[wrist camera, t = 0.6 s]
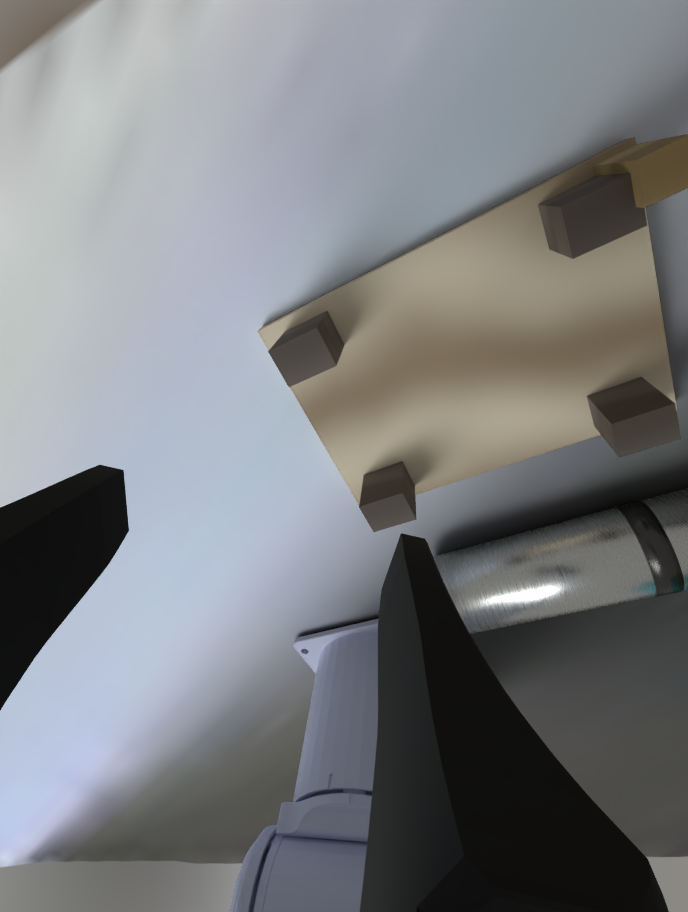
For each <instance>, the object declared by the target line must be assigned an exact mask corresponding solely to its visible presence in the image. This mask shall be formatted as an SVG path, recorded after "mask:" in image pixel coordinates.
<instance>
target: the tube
mask: <svg viewBox="0 0 688 912" xmlns="http://www.w3.org/2000/svg"><path fill="white" fill-rule="evenodd" d="M433 558H434V561H435V563H436V566H437V568H438V570H439V572H440V575H441V577H442V579H443V582H444V584H445V586H446V588H447V590H448V592H449V594H450V596H451V598H452V600H453V602H454V604H455V606H456V608H457V610H458V613H459V615H460V616H461V618H462V620H463V622H464V624H465V626H466V628H467V630H468V631H469V633H470V634H472V633H477V632H482V631H487V630H492V629H497V628H502V627H506V626H511V625H516V624H521V623H526V622H531V621H536V620H541V619H546V618H551V617H555V616H560V615H565V614H570V613H575V612H580V611H585V610H590V609H595V608H600V607H605V606H609V605H614V604H619V603H624V602H629V601H634V600H639V599H644V598H649V597H657V596H662V595H667V594H672V593H677V592H682V591H683V590H688V488H686V489H682V490H679V491H675V492H671V493H668V494H664V495H660V496H656V497H653V498H649V499H645V500H642V501H641V500H639V501H635V502H632V503H628V504H624V505H620V506H617V507H614V508H612V509H608V510H605V511H601V512H597V513H593V514H590V515H586V516H582V517H579V518H575V519H571V520H567V521H564V522H560V523H556V524H553V525H549V526H545V527H541V528H538V529H534V530H530V531H527V532H523V533H519V534H515V535H512V536H508V537H504V538H501V539H497V540H493V541H490V542H486V543H482V544H478V545H475V546H471V547H467V548H464V549H460V550H456V551H452V552H449V553H445V554H441V555H438V556H434V557H433Z"/></svg>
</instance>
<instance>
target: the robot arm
mask: <svg viewBox="0 0 688 912" xmlns="http://www.w3.org/2000/svg"><path fill="white" fill-rule="evenodd" d="M128 531H129V527H128V516H127V505H126V494H125V483H124V472H123V470H120V469H116V468H112V467H107V466H103V465H98V466H96V467H93V468H90V469H88V470H86V471H83V472H81V473H79V474H76V475H74V476H72V477H69V478H67V479H65V480H63V481H61V482H58V483H56V484H54V485H52V486H49V487H47V488H45V489H43V490H40V491H38V492H36V493H33V494H31V495H29V496H27V497H24V498H22V499H20V500H17V501H15V502H13V503H10V504H8V505H6V506H3V507H1V508H0V710H1V708H2V707H3V705H4V703H5V702H6V700H7V699H8V697H9V696H10V694H11V693H12V691H13V690H14V688H15V687H16V685H17V684H18V682H19V681H20V679H21V678H22V676H23V674H24V673H25V671H26V670H27V668H28V667H29V665H30V664H31V662H32V661H33V659H34V658H35V657H36V655H37V654H38V653H39V651H40V650H41V649H42V647H43V646H44V645H45V643H46V642H47V640H48V639H49V638H50V637H51V635H52V634H53V633H54V632H55V631H56V629H57V628H58V627H59V626H60V624H61V623H62V622H63V621H64V619H65V618H66V617H67V616H68V614H69V613H70V612H71V611H72V610H73V608H74V607H75V606H76V605H77V603H78V602H79V601H80V600H81V598H82V597H83V596H84V595H85V593H86V592H87V591H88V590H89V588H90V587H91V586H92V585H93V583H94V582H95V581H96V580H97V578H98V577H99V576H100V575H101V573H102V572H103V571H104V569H105V568H106V567H107V566H108V564H109V563H110V561H111V559H112V558H113V556H114V555H115V553H116V552H117V550H118V548H119V547H120V545H121V543H122V541H123V540H124V538H125V536H126V535H127V533H128ZM294 648H295V649H296V650H297V651H298V653H299V654H300V655H301V656H302V657H303V659H304V660H305V661H306V662H307V664H308V665H309V666H310V667H311V668H312V670H313V671H314V672H315V673H316V677H315V682H314V688H313V694H312V699H311V705H310V710H309V716H308V721H307V727H306V732H305V738H304V743H303V749H302V755H301V760H300V766H299V771H298V777H297V782H296V788H295V793H294V799H293V802H283V803H282V804H281V809H280V814H279V819H278V824H277V826H276V825H271V826H267V827H266V828H265V829H264V830H263V831H262V832H261V834H260V835H259V837H258V838H257V840H256V841H255V842H254V843H253V845H252V846H251V847H250V849H249V851H248V852H247V854H246V856H245V859H244V861H243V863H242V866H241V869H240V872H239V874H238V878H237V881H236V885H235V888H234V892H233V896H232V900H231V905H230V909H229V912H668V908H667V905H666V903H665V900H664V897H663V894H662V892H661V889H660V887H659V885H658V882H657V880H656V878H655V875H654V873H653V871H652V868H651V866H650V864H649V861H648V859H647V858H646V857H645V856H644V855H643V854H642V853H641V851H640V850H639V849H638V848H637V847H636V846H635V845H634V844H633V843H632V842H631V841H630V840H629V839H628V838H627V837H626V836H625V834H624V833H623V832H622V831H621V830H620V829H619V828H618V827H617V826H616V825H615V824H614V823H613V822H612V821H611V820H610V819H609V817H608V816H607V815H606V814H605V813H604V812H603V811H602V810H601V809H600V808H599V807H598V806H597V805H596V804H595V803H594V802H593V800H592V799H591V798H590V797H589V796H588V795H587V794H586V793H585V791H584V790H583V789H582V788H581V787H580V786H579V784H578V783H577V782H576V781H575V780H574V779H573V777H572V776H571V775H570V774H569V773H568V772H567V770H566V769H565V768H564V767H563V766H562V765H561V763H560V762H559V761H558V760H557V759H556V757H555V756H554V755H553V754H552V753H551V751H550V750H549V749H548V748H547V746H546V745H545V744H544V742H543V741H542V740H541V738H540V737H539V736H538V735H537V733H536V732H535V731H534V729H533V728H532V727H531V726H530V724H529V723H528V722H527V720H526V719H525V718H524V716H523V715H522V714H521V713H520V711H519V710H518V709H517V707H516V706H515V704H514V703H513V701H512V700H511V699H510V697H509V696H508V694H507V693H506V691H505V690H504V689H503V687H502V686H501V684H500V682H499V681H498V679H497V678H496V676H495V675H494V673H493V672H492V670H491V669H490V667H489V666H488V664H487V662H486V661H485V659H484V657H483V656H482V654H481V652H480V651H479V649H478V647H477V646H476V644H475V642H474V640H473V638H472V637H471V635H470V633H469V631H468V630H467V628H466V626H465V624H464V622H463V620H462V618H461V616H460V615H459V613H458V610H457V608H456V606H455V604H454V602H453V600H452V598H451V596H450V594H449V592H448V590H447V588H446V586H445V584H444V582H443V579H442V577H441V575H440V572H439V570H438V568H437V566H436V563H435V561H434V558H433V556H432V553H431V551H430V548H429V546H428V543H427V542H426V540H425V539H423V538H419V537H415V536H410V535H406V534H401V535H400V538H399V541H398V544H397V547H396V550H395V552H394V555H393V558H392V561H391V564H390V567H389V570H388V573H387V575H386V578H385V581H384V584H383V587H382V593H381V601H380V610H379V619H375V620H370V621H366V622H362V623H358V624H353V625H349V626H345V627H340V628H336V629H332V630H328V631H323V632H319V633H315V634H310V635H306V636H302V637H298V638H296V639H295V641H294Z"/></svg>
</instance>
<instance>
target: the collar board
mask: <svg viewBox="0 0 688 912" xmlns="http://www.w3.org/2000/svg"><path fill="white" fill-rule="evenodd" d="M686 188H688V134H686V135H681V136H676V137H671V138H666V139H661V140H656V141H651V142H646V143H640V144H636V143H635V137H634V138H629V139H626V140H624V141H622V142H620V143H618V144H616V145H614V146H612V147H610V148H608V149H606V150H604V151H602V152H600V153H599V154H597V155H595V156H593V157H591V158H589V159H587V160H585V161H583V162H581V163H579V164H577V165H575V166H573V167H571V168H569V169H568V170H566V171H564V172H562V173H560V174H558V175H556V176H554V177H552V178H550V179H548V180H546V181H544V182H542V183H540V184H538V185H537V186H535V187H533V188H531V189H529V190H527V191H525V192H523V193H521V194H519V195H517V196H515V197H513V198H511V199H509V200H507V201H506V202H504V203H502V204H500V205H498V206H496V207H494V208H492V209H490V210H488V211H486V212H484V213H482V214H480V215H478V216H476V217H475V218H473V219H471V220H469V221H467V222H465V223H463V224H461V225H459V226H457V227H455V228H453V229H451V230H449V231H447V232H445V233H444V234H442V235H440V236H438V237H436V238H434V239H432V240H430V241H428V242H426V243H424V244H422V245H420V246H418V247H416V248H414V249H413V250H411V251H409V252H407V253H405V254H403V255H401V256H399V257H397V258H395V259H393V260H391V261H389V262H387V263H385V264H383V265H382V266H380V267H378V268H376V269H374V270H372V271H370V272H368V273H366V274H364V275H362V276H360V277H358V278H356V279H354V280H353V281H351V282H349V283H347V284H345V285H343V286H341V287H339V288H337V289H335V290H333V291H331V292H329V293H327V294H325V295H323V296H322V297H320V298H318V299H316V300H314V301H312V302H310V303H308V304H306V305H304V306H302V307H300V308H298V309H296V310H294V311H292V312H291V313H289V314H287V315H285V316H283V317H281V318H279V319H277V320H275V321H273V322H271V323H269V324H267V325H265V326H263V327H261V328H260V329H259V330H258V333H259V335H260V337H261V338H262V340H263V342H264V343H265V345H266V347H267V349H268V350H269V351H268V352H269V354H270V355H271V357H272V359H273V361H274V362H275V364H276V366H277V367H278V369H279V371H280V373H281V374H282V376H283V378H284V379H285V381H286V383H287V385H288V386H289V387H290V388H291V390H292V391H293V393H294V395H295V397H296V398H297V400H298V402H299V403H300V405H301V407H302V409H303V410H304V412H305V414H306V415H307V417H308V419H309V421H310V422H311V424H312V426H313V427H314V429H315V431H316V433H317V434H318V436H319V438H320V439H321V441H322V443H323V445H324V446H325V448H326V450H327V451H328V453H329V455H330V457H331V458H332V460H333V462H334V463H335V465H336V467H337V469H338V470H339V472H340V474H341V475H342V477H343V479H344V481H345V482H346V484H347V486H348V487H349V489H350V491H351V493H352V494H353V496H354V498H355V499H356V501H357V503H358V505H359V508H360V509H361V511H362V513H363V515H364V516H365V518H366V520H367V521H368V523H369V525H370V527H371V528H372V530H373V532H376V531H379V530H382V529H386V528H389V527H392V526H396V525H399V524H402V523H405V522H409V521H412V520H415V519H416V502H415V495H416V494H419V493H423V492H426V491H429V490H432V489H435V488H438V487H441V486H444V485H447V484H450V483H453V482H457V481H460V480H463V479H466V478H469V477H472V476H475V475H478V474H481V473H484V472H487V471H491V470H494V469H497V468H500V467H503V466H506V465H509V464H512V463H515V462H518V461H521V460H525V459H528V458H531V457H534V456H537V455H540V454H543V453H546V452H549V451H552V450H555V449H559V448H562V447H565V446H568V445H571V444H574V443H577V442H580V441H583V440H586V439H589V438H593V437H596V436H599V435H602V436H603V438H604V439H605V440H606V441H607V443H608V444H609V445H610V446H611V448H612V449H613V450H614V451H615V453H616V454H617V455H618V456H619V457H622V456H626V455H629V454H632V453H635V452H639V451H642V450H645V449H649V448H652V447H655V446H658V445H662V444H665V443H668V442H672V441H675V440H678V439H681V437H680V431H679V425H678V418H677V412H676V410H677V407H676V400H675V394H674V387H673V381H672V375H671V368H670V362H669V355H668V349H667V342H666V336H665V330H664V323H663V317H662V310H661V304H660V297H659V291H658V285H657V278H656V272H655V265H654V259H653V252H652V246H651V240H650V233H649V227H648V220H647V214H646V207H647V206H650V205H652V204H654V203H656V202H658V201H660V200H663V199H665V198H667V197H669V196H671V195H673V194H675V193H678V192H680V191H682V190H684V189H686Z"/></svg>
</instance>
